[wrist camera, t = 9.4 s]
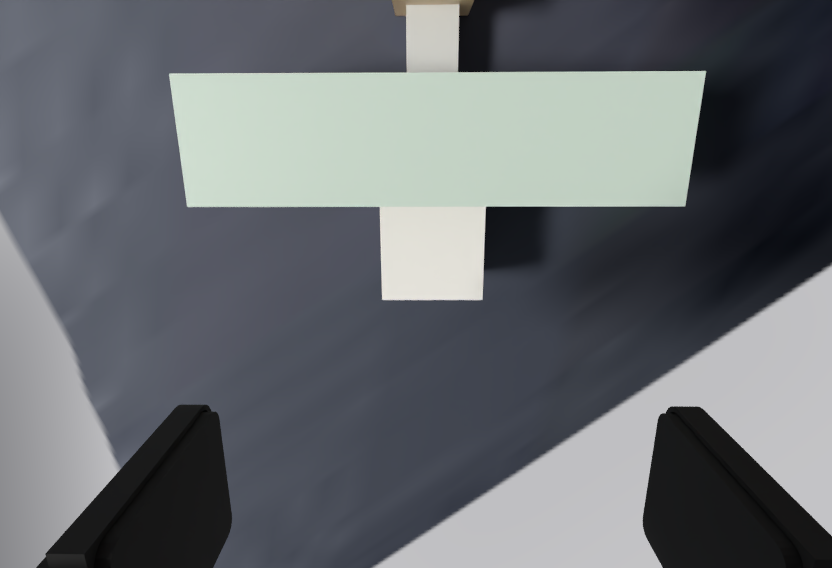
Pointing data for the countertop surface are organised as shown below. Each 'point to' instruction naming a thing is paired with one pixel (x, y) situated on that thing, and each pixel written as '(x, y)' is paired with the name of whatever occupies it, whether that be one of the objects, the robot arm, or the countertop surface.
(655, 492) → the robot arm
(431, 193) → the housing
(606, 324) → the countertop surface
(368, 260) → the countertop surface
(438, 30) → the plug
